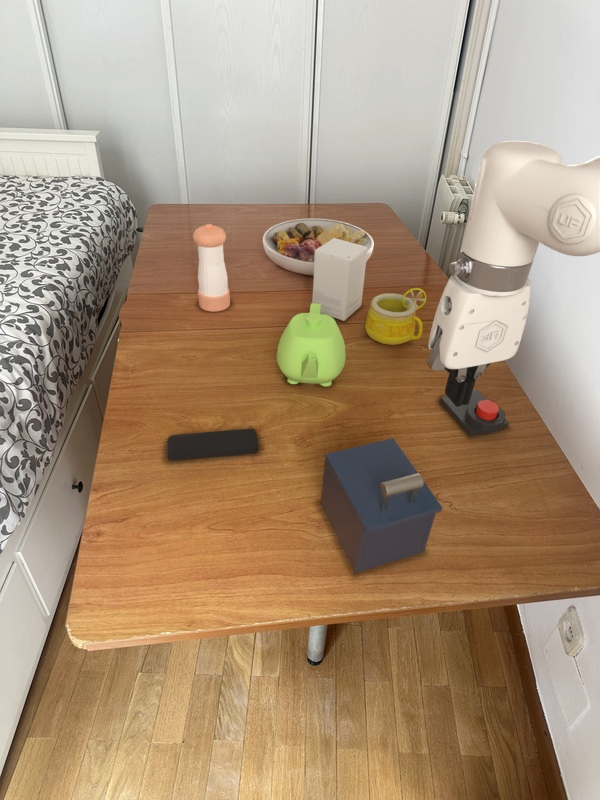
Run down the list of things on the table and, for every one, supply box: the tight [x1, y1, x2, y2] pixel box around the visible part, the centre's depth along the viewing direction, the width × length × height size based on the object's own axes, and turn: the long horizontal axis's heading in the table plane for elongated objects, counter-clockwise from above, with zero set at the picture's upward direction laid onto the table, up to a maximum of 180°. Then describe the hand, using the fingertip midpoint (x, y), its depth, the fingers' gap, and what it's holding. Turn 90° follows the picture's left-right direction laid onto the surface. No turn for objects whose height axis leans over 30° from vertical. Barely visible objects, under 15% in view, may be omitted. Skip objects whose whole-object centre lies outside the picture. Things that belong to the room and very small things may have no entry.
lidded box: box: [320, 458, 437, 574], centre depth 75 cm, size 13×11×10 cm
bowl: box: [262, 217, 375, 277], centre depth 146 cm, size 30×30×8 cm
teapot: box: [276, 302, 347, 387], centre depth 103 cm, size 20×13×13 cm
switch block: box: [439, 389, 510, 437], centre depth 97 cm, size 11×8×3 cm
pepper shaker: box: [192, 223, 231, 312], centre depth 120 cm, size 7×7×19 cm
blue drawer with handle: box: [324, 437, 443, 533], centre depth 70 cm, size 13×11×5 cm
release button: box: [476, 399, 500, 421], centre depth 94 cm, size 4×4×2 cm
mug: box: [364, 287, 427, 346], centre depth 114 cm, size 13×11×12 cm
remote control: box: [166, 427, 260, 462], centre depth 89 cm, size 5×2×15 cm
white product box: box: [311, 238, 368, 322], centre depth 122 cm, size 9×9×15 cm
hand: (456, 399), depth 70 cm, fingers closed
